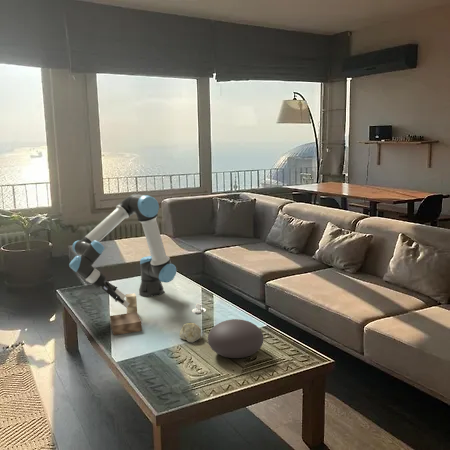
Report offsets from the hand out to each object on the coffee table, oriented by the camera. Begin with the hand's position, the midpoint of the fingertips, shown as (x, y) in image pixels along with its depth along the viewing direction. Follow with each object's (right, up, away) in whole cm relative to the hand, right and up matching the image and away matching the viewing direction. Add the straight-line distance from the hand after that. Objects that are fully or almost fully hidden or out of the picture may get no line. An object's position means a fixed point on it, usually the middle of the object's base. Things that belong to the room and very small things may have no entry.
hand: (126, 301), depth 270 cm
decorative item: (+37, -13, -30) cm, 50 cm away
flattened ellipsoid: (+59, -16, -48) cm, 77 cm away
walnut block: (+3, -11, -16) cm, 19 cm away
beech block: (+3, -8, +3) cm, 8 cm away
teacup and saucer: (+37, -7, +5) cm, 38 cm away
